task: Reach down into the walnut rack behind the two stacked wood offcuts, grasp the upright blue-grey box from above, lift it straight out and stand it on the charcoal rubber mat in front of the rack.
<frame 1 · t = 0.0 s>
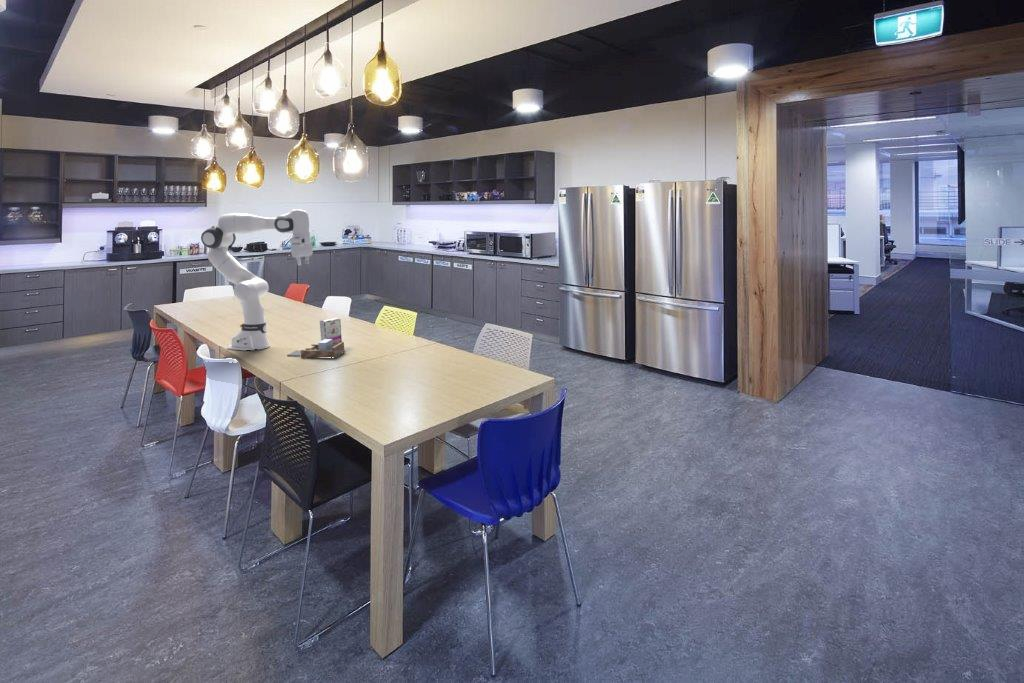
hand: (303, 264, 324), 48 cm above the table, tool pointing down, fingers open, 8 cm apart
candy bar box: (331, 347, 339), on the table
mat: (297, 353, 322), on the table
rack: (322, 354, 321), on the table
blue-grey box: (326, 355, 321), resting in rack
offcut short: (310, 350, 321), point 2 cm above the table
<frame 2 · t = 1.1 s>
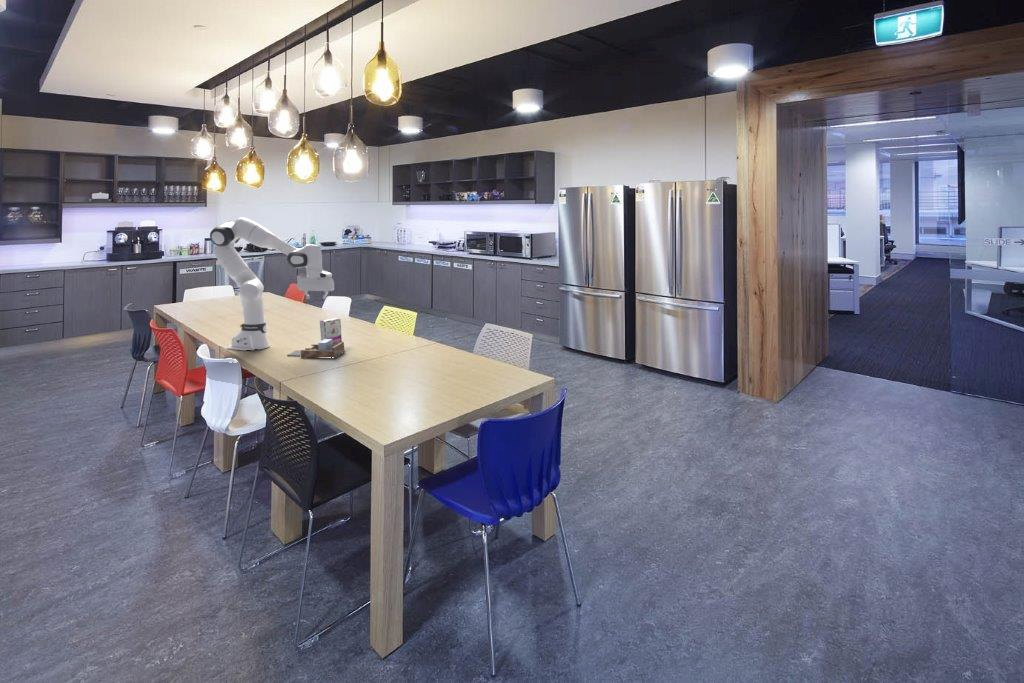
hand: (316, 298, 325), 29 cm above the table, tool pointing down, fingers open, 8 cm apart
offcut short: (309, 350, 321), point 2 cm above the table, touching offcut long
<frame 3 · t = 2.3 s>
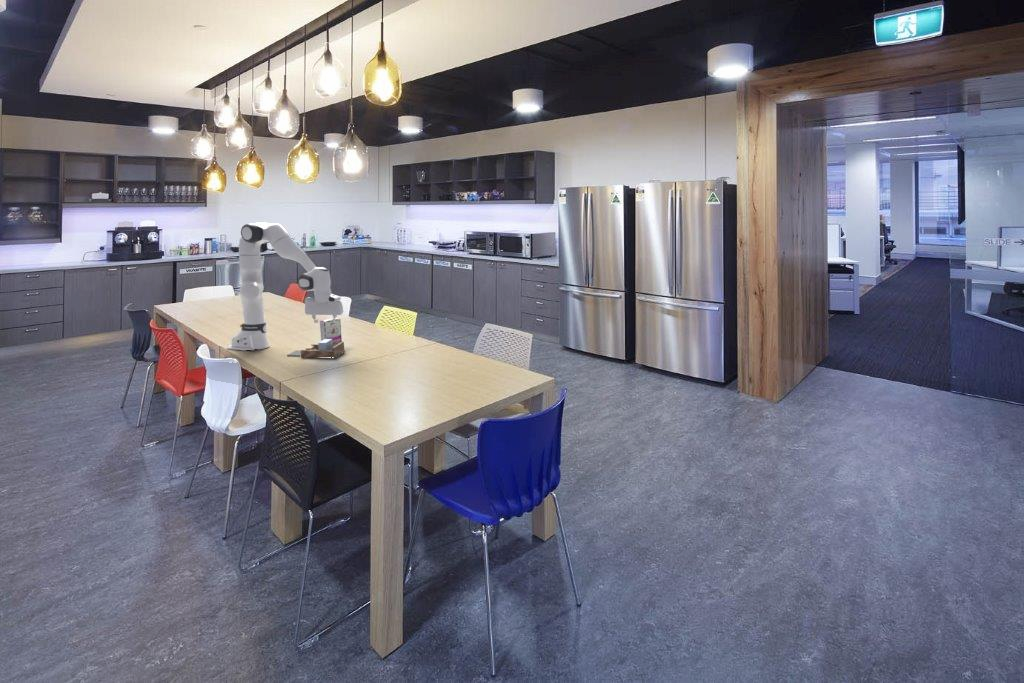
hand: (324, 322, 317), 18 cm above the table, tool pointing down, fingers open, 8 cm apart
nothing on the table moved.
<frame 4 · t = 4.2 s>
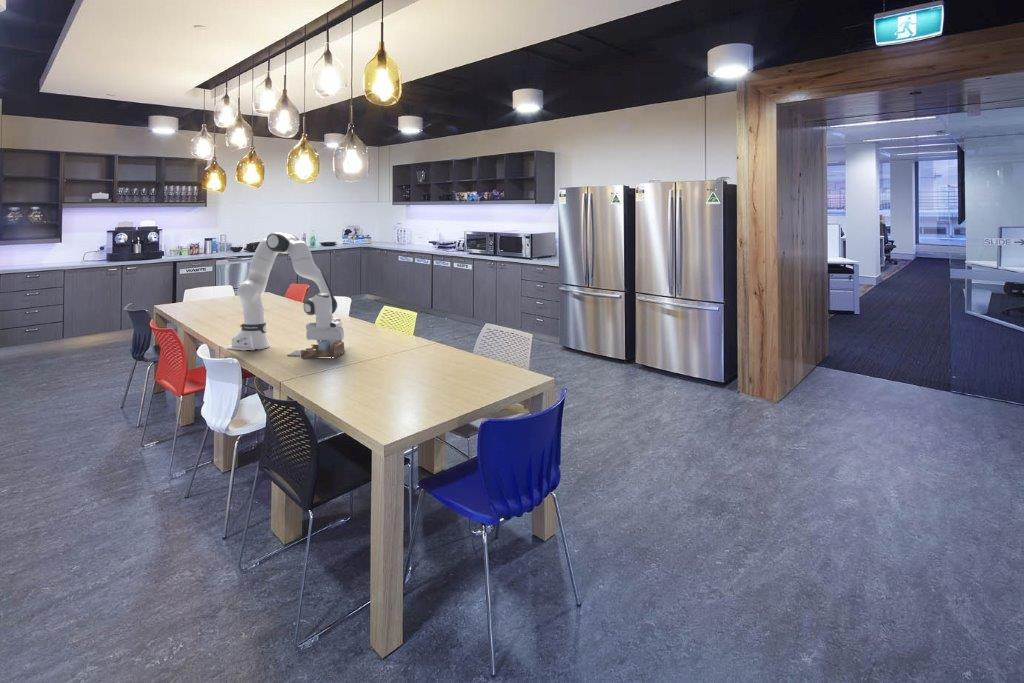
hand: (325, 347, 320), 4 cm above the table, tool pointing down, fingers closed on blue-grey box, 4 cm apart
blue-grey box: (326, 354, 321), resting in rack, touching gripper
everything else where it was.
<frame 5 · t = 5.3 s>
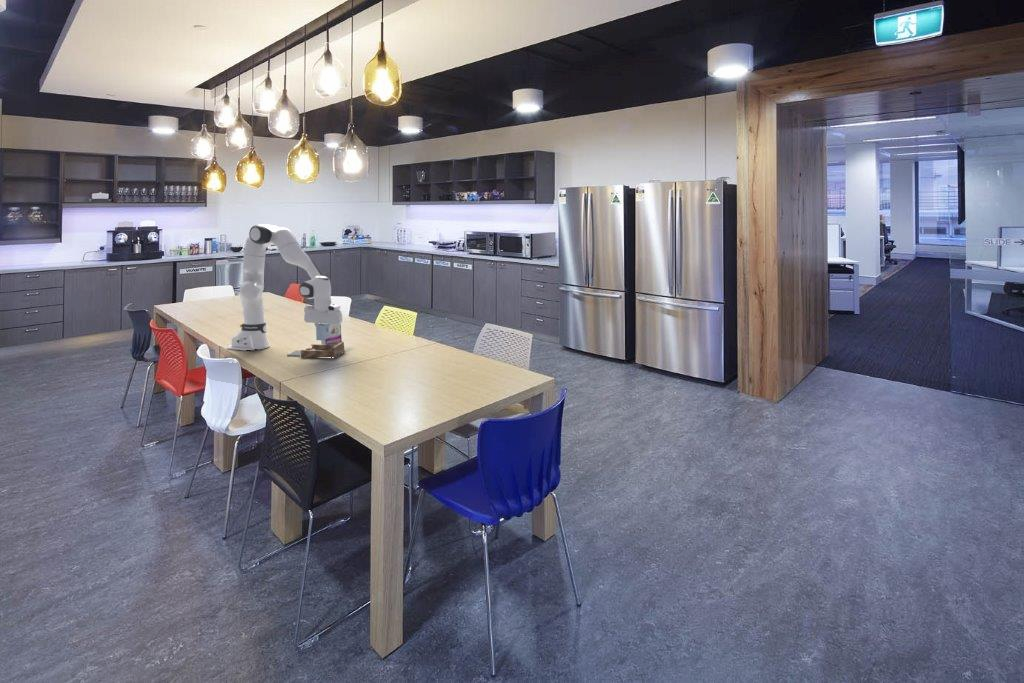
hand: (323, 331, 318), 13 cm above the table, tool pointing down, fingers closed on blue-grey box, 4 cm apart
blue-grey box: (323, 338, 319), point 9 cm above the table, touching gripper
everything else where it was.
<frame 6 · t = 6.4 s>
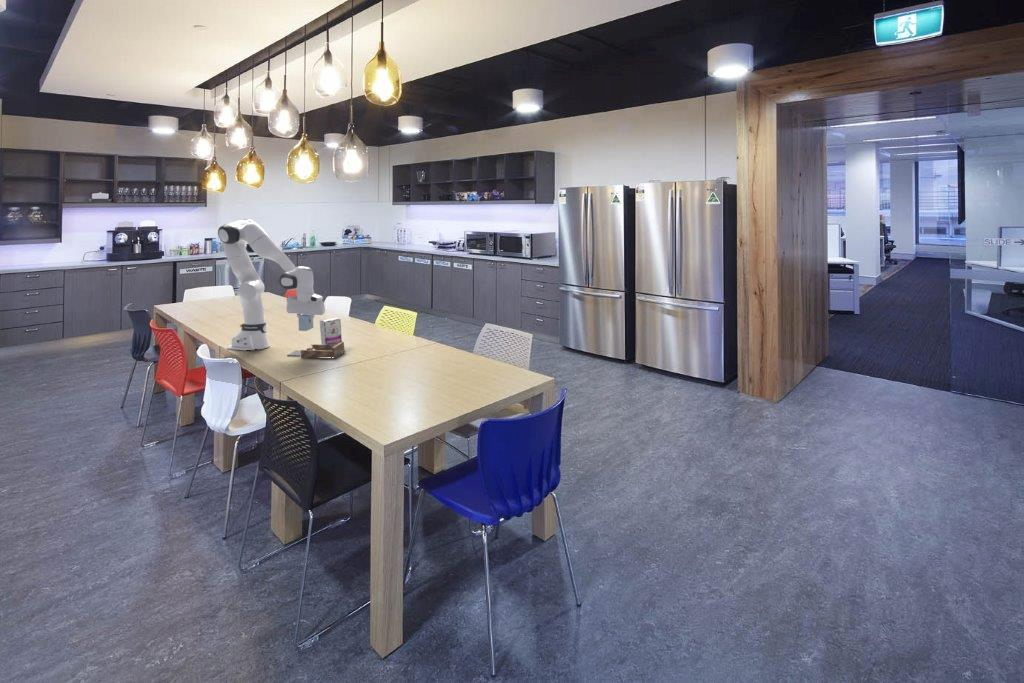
hand: (305, 322, 318), 18 cm above the table, tool pointing down, fingers closed on blue-grey box, 4 cm apart
blue-grey box: (306, 329, 319), point 14 cm above the table, touching gripper
everything else where it was.
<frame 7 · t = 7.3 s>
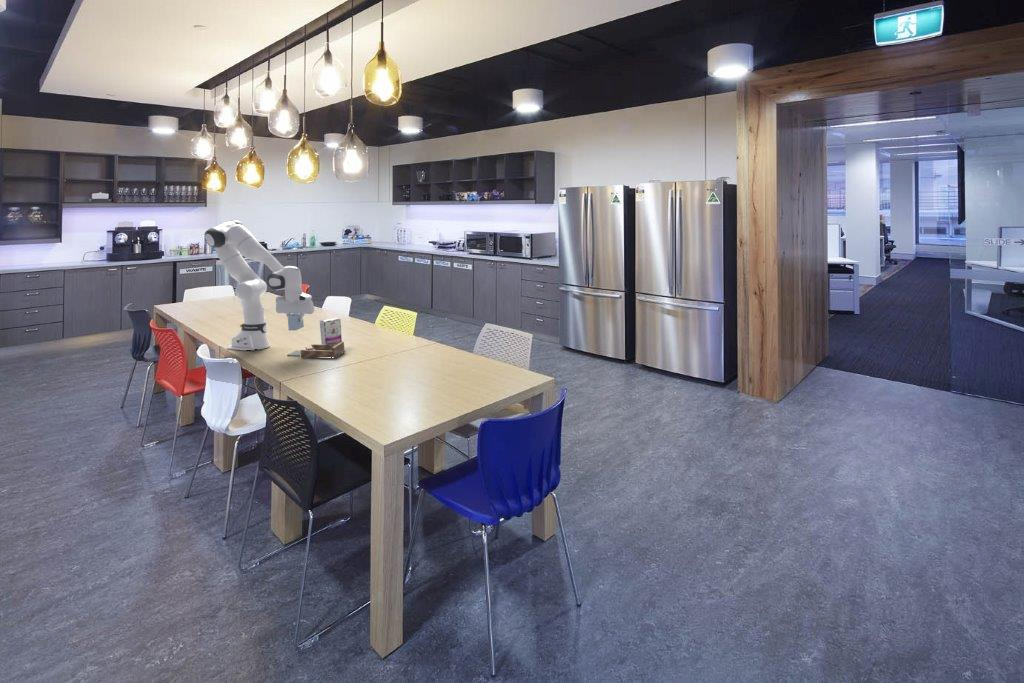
hand: (295, 321, 318), 18 cm above the table, tool pointing down, fingers closed on blue-grey box, 4 cm apart
blue-grey box: (296, 328, 319), point 14 cm above the table, touching gripper
everything else where it was.
when the fingers open (6 cm above the table, at t = 9.7 s): blue-grey box drops 1 cm, resting on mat.
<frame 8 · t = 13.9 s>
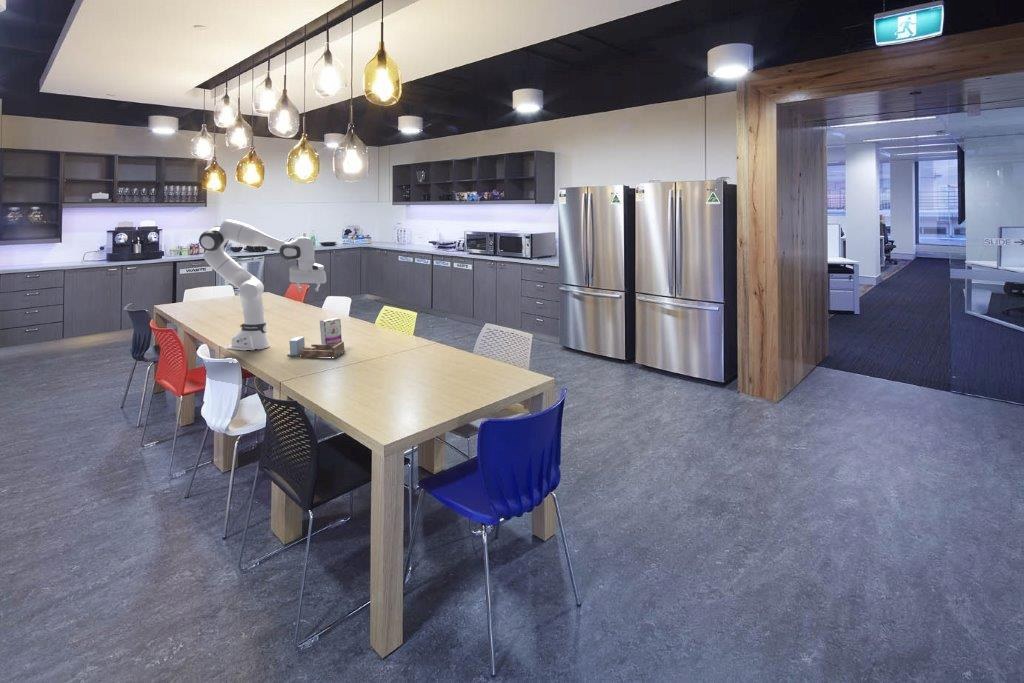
hand: (308, 290, 329), 33 cm above the table, tool pointing down, fingers open, 8 cm apart
blue-grey box: (297, 352, 322), point 1 cm above the table, touching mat
offcut short: (309, 350, 321), point 2 cm above the table
at the end: blue-grey box inside the target area on the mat (0.1 cm from its centre), point 0.6 cm above the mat's base; blue-grey box tilted 0°; the gripper is holding nothing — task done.
